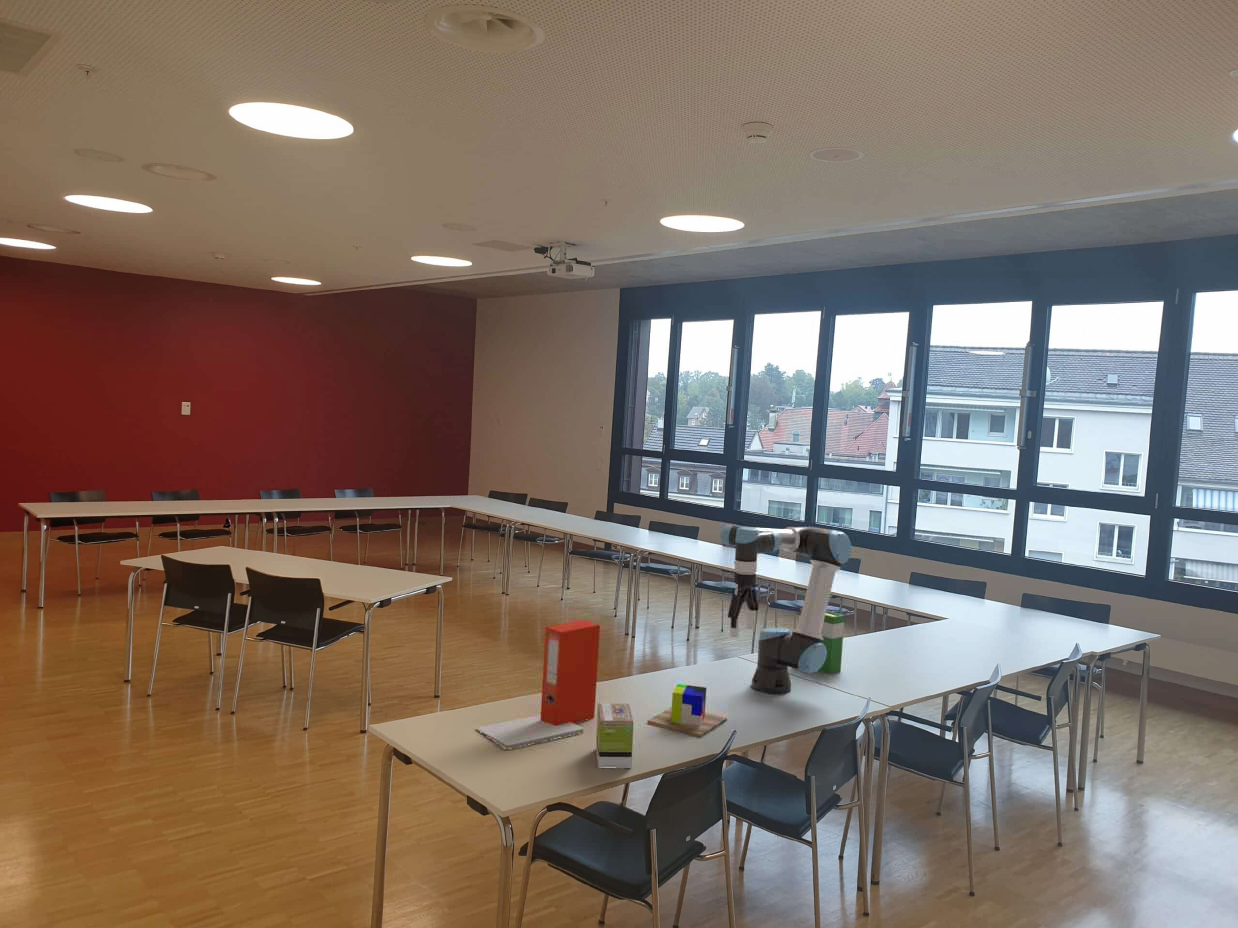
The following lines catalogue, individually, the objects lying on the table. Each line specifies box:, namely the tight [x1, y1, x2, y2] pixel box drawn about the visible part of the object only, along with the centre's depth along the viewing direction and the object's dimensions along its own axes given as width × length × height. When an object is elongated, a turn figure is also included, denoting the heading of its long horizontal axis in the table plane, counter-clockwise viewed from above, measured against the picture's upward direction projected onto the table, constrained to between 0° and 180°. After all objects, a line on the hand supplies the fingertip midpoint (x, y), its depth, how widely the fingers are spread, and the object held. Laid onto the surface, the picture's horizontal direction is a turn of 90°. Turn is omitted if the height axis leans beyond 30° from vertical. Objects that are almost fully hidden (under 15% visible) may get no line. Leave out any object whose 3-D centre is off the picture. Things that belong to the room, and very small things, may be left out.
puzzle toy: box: [671, 683, 707, 726], centre depth 297 cm, size 10×10×10 cm
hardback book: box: [798, 607, 845, 675], centre depth 371 cm, size 18×7×24 cm, turn 40°
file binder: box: [540, 619, 601, 726], centre depth 292 cm, size 8×17×32 cm, turn 136°
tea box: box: [595, 702, 634, 769], centre depth 262 cm, size 15×10×15 cm, turn 5°
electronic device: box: [475, 714, 584, 750], centre depth 281 cm, size 29×20×2 cm
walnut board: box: [647, 706, 728, 738], centre depth 298 cm, size 20×20×1 cm
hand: (742, 632), depth 304 cm, fingers open, 13 cm apart
